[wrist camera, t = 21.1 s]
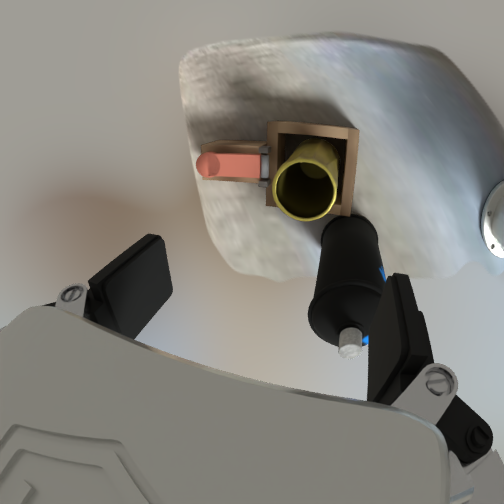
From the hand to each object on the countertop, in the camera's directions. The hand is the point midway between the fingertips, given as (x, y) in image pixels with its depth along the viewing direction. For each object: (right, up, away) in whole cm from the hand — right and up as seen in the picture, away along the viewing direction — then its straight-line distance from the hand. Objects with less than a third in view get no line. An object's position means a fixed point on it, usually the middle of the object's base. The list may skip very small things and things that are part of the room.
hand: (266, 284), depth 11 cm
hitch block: (+3, +13, +23) cm, 27 cm away
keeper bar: (-3, +11, +20) cm, 23 cm away
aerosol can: (+13, +3, +26) cm, 29 cm away
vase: (+8, +13, +22) cm, 27 cm away
